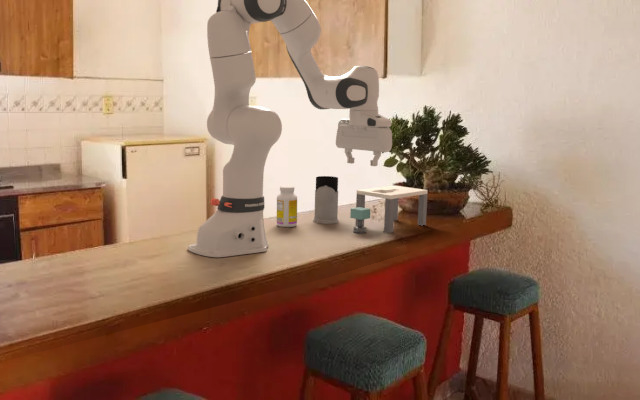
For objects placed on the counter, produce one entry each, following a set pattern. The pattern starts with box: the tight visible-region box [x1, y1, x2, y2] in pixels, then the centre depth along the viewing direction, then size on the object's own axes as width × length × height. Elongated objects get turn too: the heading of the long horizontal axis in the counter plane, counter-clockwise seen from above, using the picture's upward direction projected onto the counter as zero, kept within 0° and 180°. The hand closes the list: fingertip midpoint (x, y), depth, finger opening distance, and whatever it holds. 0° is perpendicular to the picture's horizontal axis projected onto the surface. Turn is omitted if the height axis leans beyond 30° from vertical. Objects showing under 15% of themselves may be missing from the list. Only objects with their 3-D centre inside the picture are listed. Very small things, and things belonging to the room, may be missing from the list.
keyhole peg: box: [349, 207, 371, 234], centre depth 208 cm, size 4×4×8 cm
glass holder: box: [312, 175, 339, 225], centre depth 227 cm, size 9×14×15 cm, turn 173°
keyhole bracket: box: [354, 184, 428, 234], centre depth 220 cm, size 20×14×12 cm
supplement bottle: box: [276, 185, 298, 228], centre depth 215 cm, size 7×7×13 cm
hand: (362, 164), depth 206 cm, fingers open, 8 cm apart
